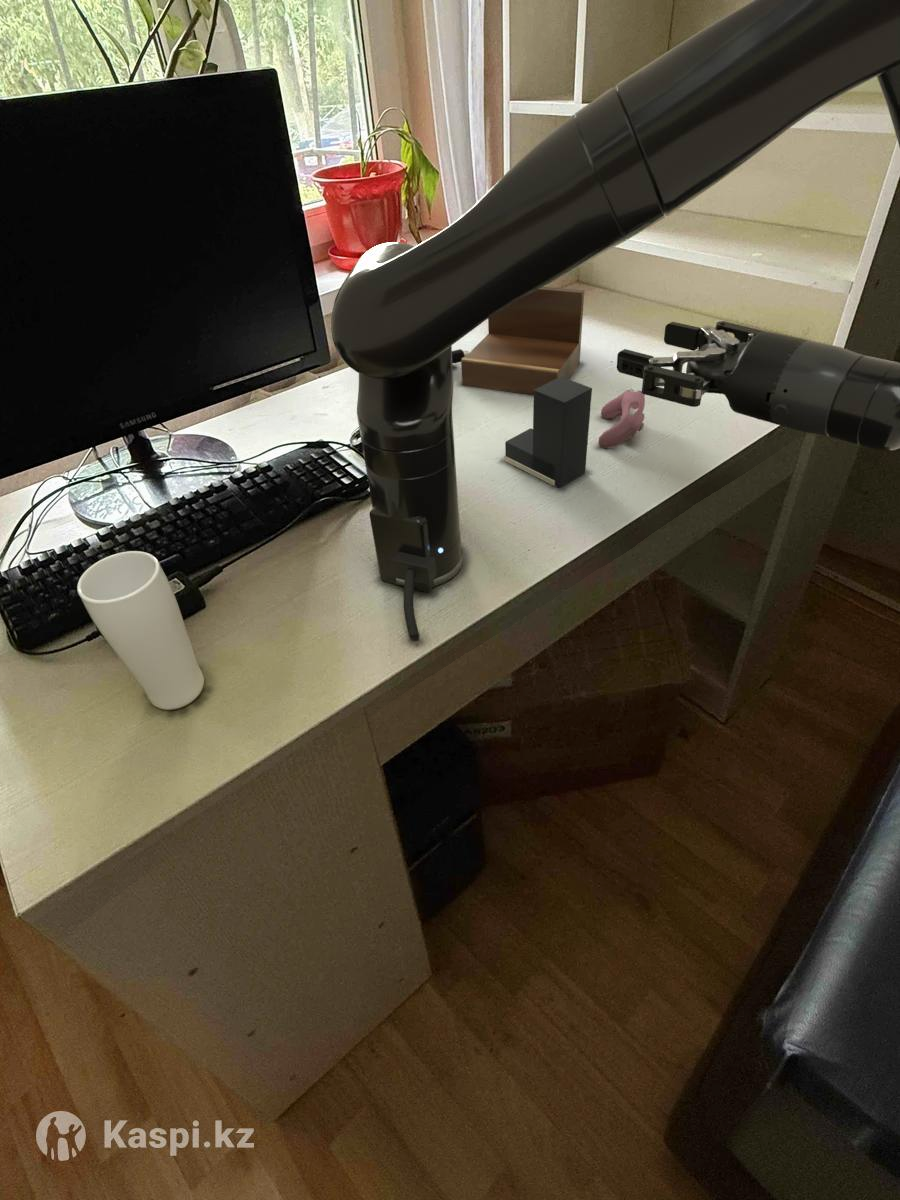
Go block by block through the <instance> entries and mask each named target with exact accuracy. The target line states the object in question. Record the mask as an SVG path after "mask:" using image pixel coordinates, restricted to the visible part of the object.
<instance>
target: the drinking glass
mask: <svg viewBox="0 0 900 1200" xmlns="http://www.w3.org/2000/svg"><path fill="white" fill-rule="evenodd" d="M78 579H79V580H78V582H77V586H76V591H77V594H78V596H79V597H80V600H81V602H82V603H83V605H84V608H85V609H86V612H87V613H88V615H89V617H90V618H91V620H92V622H93V624H94V625H95V627H96V628H97V629H98V631H99V632H100V634H101V635H102V637H103V638H104V639H105V641H106V642H107V643H108V645H109V646H110V647H111V649H112V650H113V651H114V652H115V654H116V655H117V657H118V658H119V659H120V661H121V662H122V663H123V665H124V666H125V667H126V669H127V670H128V671H129V673H130V674H131V675H132V677H133V678H134V679H135V681H136V682H137V683H138V685H139V687H140V688H141V690H142V691H143V692H144V694H145V696H146V697H147V700H148V701H149V702H150V703H151V704H152V705H153V706H154V707H156V708H157V709H161V710H166V711H167V710H168V711H169V710H171V711H172V710H177V709H180V708H183V707H185V706H188V705H189V704H191V703H192V702H194V701H195V700H196V699H197V698H198V697H199V696H200V695H201V693H202V691H203V689H204V686H205V677H204V674H203V672H202V670H201V667H200V665H199V663H198V660H197V657H196V654H195V651H194V649H193V648H194V647H193V645H192V642H191V639H190V637H189V634H188V631H187V627H186V624H185V621H184V618H183V615H182V611H181V608H180V606H179V603H178V600H177V598H176V595H175V593H174V591H173V588H172V585H171V584H170V581H169V579H168V577H167V575H166V573H165V572H164V570H163V567H162V565H161V564H160V561H159V560H158V558H156V557H155V556H154V555H153V554H151V553H148V552H145V551H140V550H127V551H121V552H118V553H115V554H111V555H109V556H106V557H104V558H101V559H100V560H98V561H97V562H95V563H93V564H92V565H91V566H89V567H88V568H87V569H86V570H85V571H84V572H83V573H82V574H81V576H80V577H79V578H78Z"/></svg>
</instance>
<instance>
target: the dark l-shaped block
mask: <svg viewBox="0 0 900 1200" xmlns="http://www.w3.org/2000/svg"><path fill="white" fill-rule="evenodd" d="M592 394H593V387H590V386H588V385H585V384H582V383H579V382H577V381H574V380H571V379H570V378H569V379H567V378H564V377H559V378H557V379H555V380H553V381H551V382H549V383H547V384H545V385H543V386H541V387H539V388H537V389H535V390H534V395H533V405H532V406H533V409H532V410H533V411H532V413H533V414H532V428H528V429H527V430H526V429H525V430H524V431H522V432H520V433H519V434H517V435H515V436H513V437H511V438H510V439H508V440H506V441H505V442H504V445H505V446H504V447H505V449H504V450H505V453H504V455H503V456H504V457H503V459H504V460H503V461H504V462H506V463H508V464H510V465H511V466H513V467H516V468H518V469H520V470H521V471H523V472H526V473H528V474H530V475H531V476H534V477H536V478H537V479H538V480H539V479H540V480H542V481H543V482H544V483H545V482H546V483H547V484H548V485H551V486H552V487H553V486H554V487H556V488H558V489H561V488H563V487H564V486H566V485H568V484H569V483H571V482H573V481H575V480H576V479H578V478H580V477H582V476H583V475H584V474H585V473H586V465H587V453H588V441H589V431H590V430H589V428H590V419H591V407H592V405H591V404H592Z"/></svg>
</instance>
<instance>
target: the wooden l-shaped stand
mask: <svg viewBox="0 0 900 1200" xmlns="http://www.w3.org/2000/svg"><path fill="white" fill-rule="evenodd" d="M584 302H585V289H575V288H573V289H572V288H564V287H563V288H562V287H550V286H549V287H548V286H543V287H541V288H540V289H538V290H536V291H534V292H532V293H530V294H528V295H526V296H524V297H522V298H520V299H518V300H517V301H515V302H513V303H511V304H509V305H508V306H506V307H505V308H503V309H501V310H500V311H498V312H497V313H495V314H494V315H492V316H491V317H489V318H488V319H487V323H488V325H487V327H488V328H487V329H488V331H487V332H488V333H487V335H486V336H484V337H483V338H482V339H481V340H480V341H479V342H478V344H477V345H475V346H474V348H473V349H472V350H471V351H469V352H470V353H469V354H468V355H467V356H466V357H463V358H462V359H461V362H460V369H461V384H462V386H467V387H474V388H480V389H481V388H482V389H489V390H495V391H504V392H509V393H516V394H524V395H530V396H534V390H535V389H537V388H539V387H541V386H543V385H545V384H547V383H549V382H551V381H553V380H555V379H557V378H559V377H564V378H567V379H569V380H570V379H571V377H572V375H573V374H574V373H575V371H576V370H577V369H578V367H579V366H580V363H581V350H582V349H581V348H582V346H581V345H582V334H583V333H582V332H583V331H582V330H583V318H584V304H585V303H584Z"/></svg>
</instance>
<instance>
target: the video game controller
mask: <svg viewBox="0 0 900 1200" xmlns="http://www.w3.org/2000/svg"><path fill="white" fill-rule="evenodd" d="M645 402H646V395H645V394H642V390H639V389H637V388H636V389H635V388H634V389H633V388H632V387H630V388H629V389H626V390H625V391H623V392H622V393H621V394H620V395H618V396H617V397H615V398H614V399H612V400H610V401H608V402H607V403H605V404H604V405H603V406H602V408H601V410H600V415H601V417H602V418H603V419H605V420H611V419H616V418H618V417H620V419H619V421H618V422H617V423H616V424H614V425H613V426H611V427H610V428H608V429H607V430H604V431H603V433H602V434H601V435H600V436H599V437H598V445H599V446H600V447H601V448H603V449H607V448H614V447H617V446H619V445H621V444H623V443H624V442H626V441H627V440H629V439H630V438H633V437H634V436H635V435H636V434H637V433H638V432H641V431H643V430H644V427H645V423H644V420H645V413H644V409H645V405H646V403H645Z"/></svg>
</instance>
